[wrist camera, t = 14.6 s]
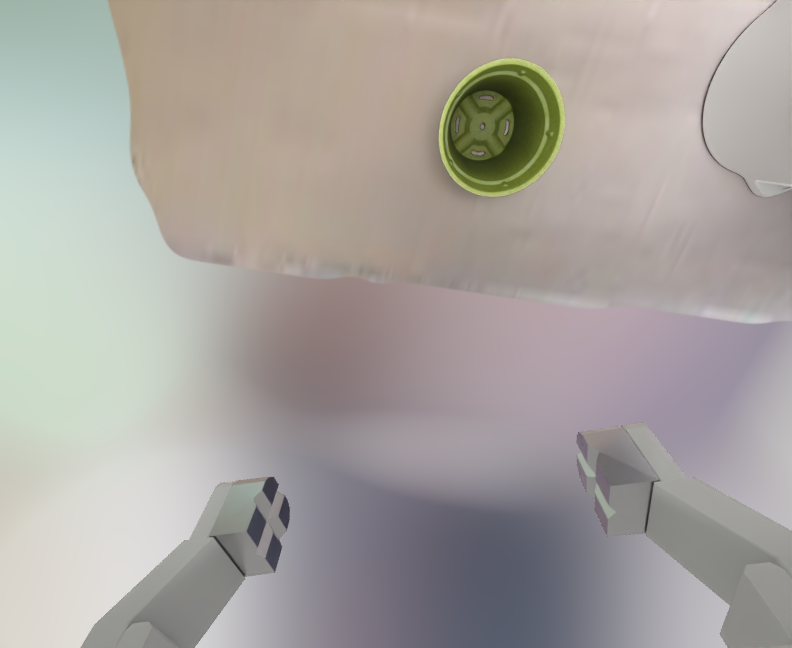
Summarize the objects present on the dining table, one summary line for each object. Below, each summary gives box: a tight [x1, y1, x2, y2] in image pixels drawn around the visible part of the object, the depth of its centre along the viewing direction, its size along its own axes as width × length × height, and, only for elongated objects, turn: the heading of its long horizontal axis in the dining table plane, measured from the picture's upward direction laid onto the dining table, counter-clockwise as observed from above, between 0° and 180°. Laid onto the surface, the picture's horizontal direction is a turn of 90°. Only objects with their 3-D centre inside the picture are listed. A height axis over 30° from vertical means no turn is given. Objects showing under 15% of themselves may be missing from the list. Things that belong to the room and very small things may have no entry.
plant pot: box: [439, 58, 565, 197], centre depth 33 cm, size 9×9×9 cm
